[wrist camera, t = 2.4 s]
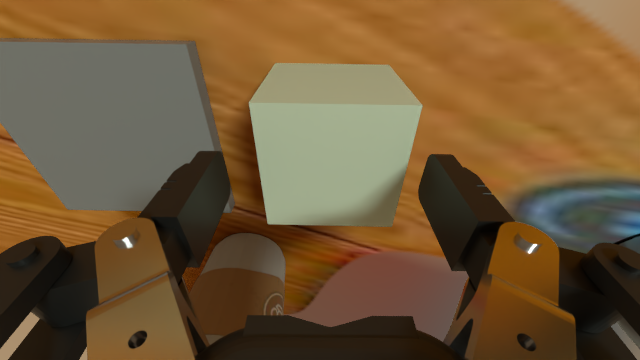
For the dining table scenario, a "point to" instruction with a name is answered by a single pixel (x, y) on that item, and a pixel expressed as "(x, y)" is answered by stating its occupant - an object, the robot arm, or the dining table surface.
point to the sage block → (333, 143)
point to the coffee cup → (239, 284)
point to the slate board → (106, 115)
